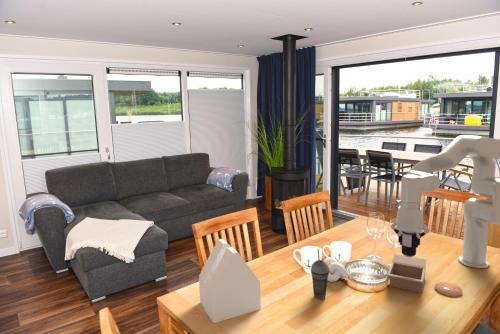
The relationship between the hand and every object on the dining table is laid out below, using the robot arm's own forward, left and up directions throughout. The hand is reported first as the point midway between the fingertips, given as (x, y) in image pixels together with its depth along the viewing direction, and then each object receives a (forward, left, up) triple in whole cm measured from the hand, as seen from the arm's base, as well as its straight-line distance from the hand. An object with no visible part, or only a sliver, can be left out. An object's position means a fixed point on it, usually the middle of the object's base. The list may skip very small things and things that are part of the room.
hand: (408, 244), depth 152 cm
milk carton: (+51, -58, -17) cm, 80 cm away
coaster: (0, +16, -17) cm, 23 cm away
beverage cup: (+29, -29, -17) cm, 45 cm away
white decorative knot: (+11, -27, -17) cm, 34 cm away
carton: (0, 0, -17) cm, 17 cm away
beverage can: (0, 0, -5) cm, 5 cm away
